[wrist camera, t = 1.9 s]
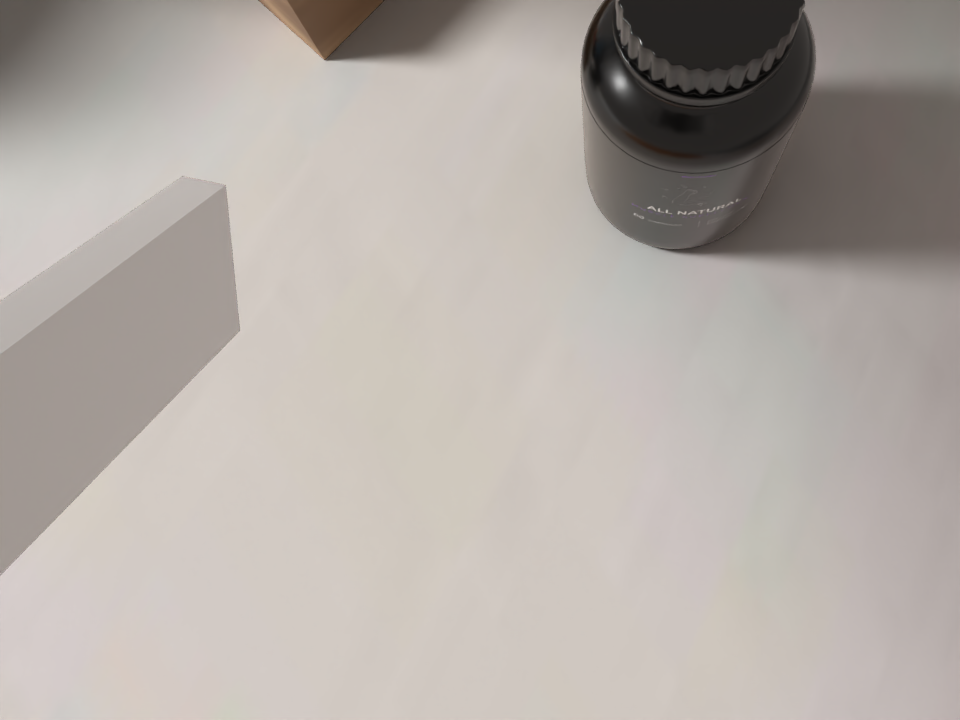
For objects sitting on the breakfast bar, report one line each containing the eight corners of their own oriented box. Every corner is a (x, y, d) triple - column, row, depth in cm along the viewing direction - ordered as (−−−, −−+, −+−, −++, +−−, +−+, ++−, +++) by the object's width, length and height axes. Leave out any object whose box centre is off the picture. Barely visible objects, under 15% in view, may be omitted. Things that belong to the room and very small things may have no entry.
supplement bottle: (665, 290, 34) (689, 165, 22) (551, 161, 36) (517, -19, 24) (809, 175, 34) (908, -11, 22) (688, 51, 36) (721, -183, 24)
